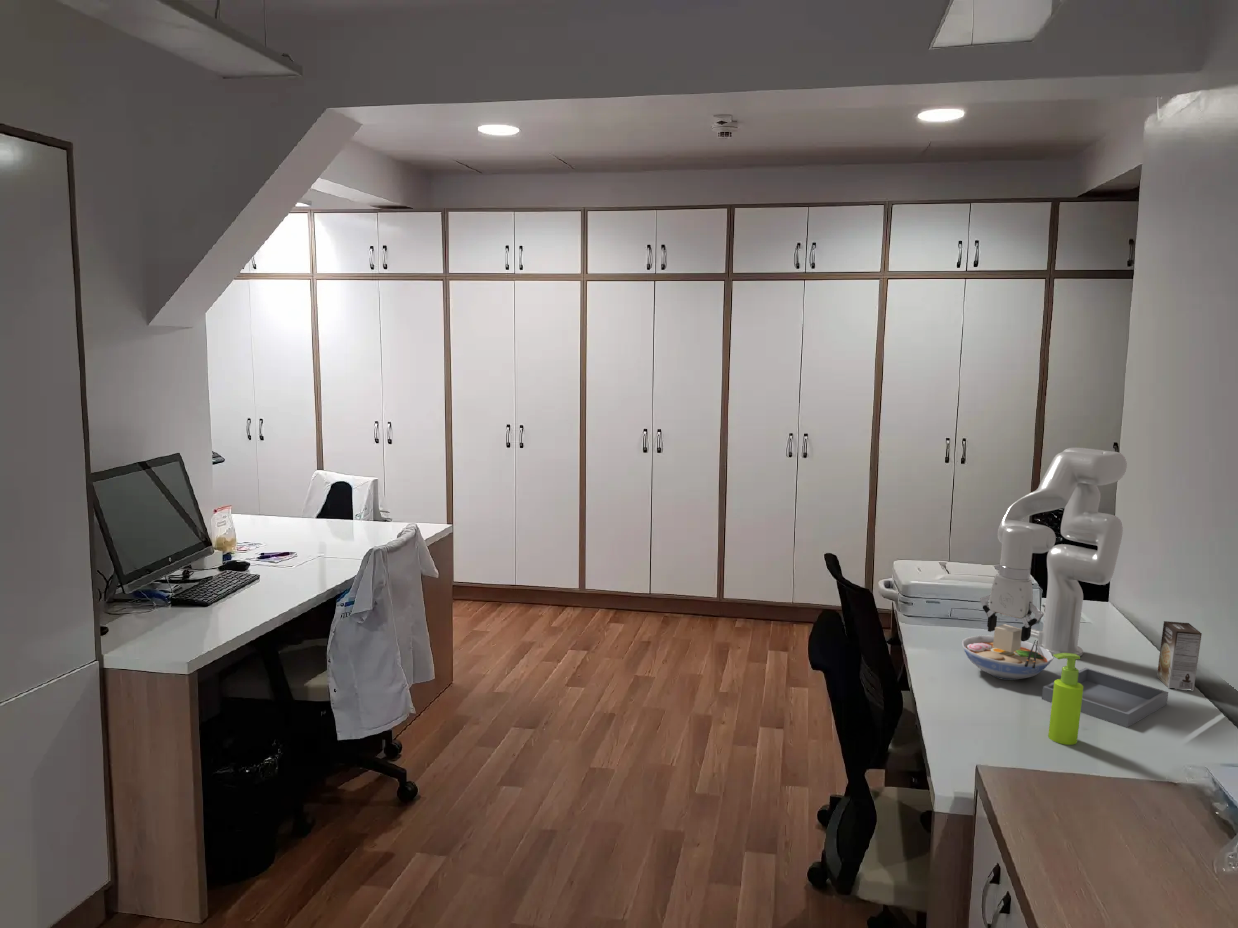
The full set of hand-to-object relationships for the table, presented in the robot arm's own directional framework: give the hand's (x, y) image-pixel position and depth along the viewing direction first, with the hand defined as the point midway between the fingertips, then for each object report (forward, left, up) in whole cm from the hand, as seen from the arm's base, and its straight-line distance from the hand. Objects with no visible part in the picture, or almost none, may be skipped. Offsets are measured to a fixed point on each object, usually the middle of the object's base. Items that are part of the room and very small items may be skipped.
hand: (1008, 635), depth 240 cm
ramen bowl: (0, 0, -11) cm, 11 cm away
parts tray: (+25, +2, -11) cm, 27 cm away
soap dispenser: (+28, -28, -11) cm, 41 cm away
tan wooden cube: (0, 0, -4) cm, 4 cm away
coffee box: (+30, +34, -11) cm, 47 cm away
